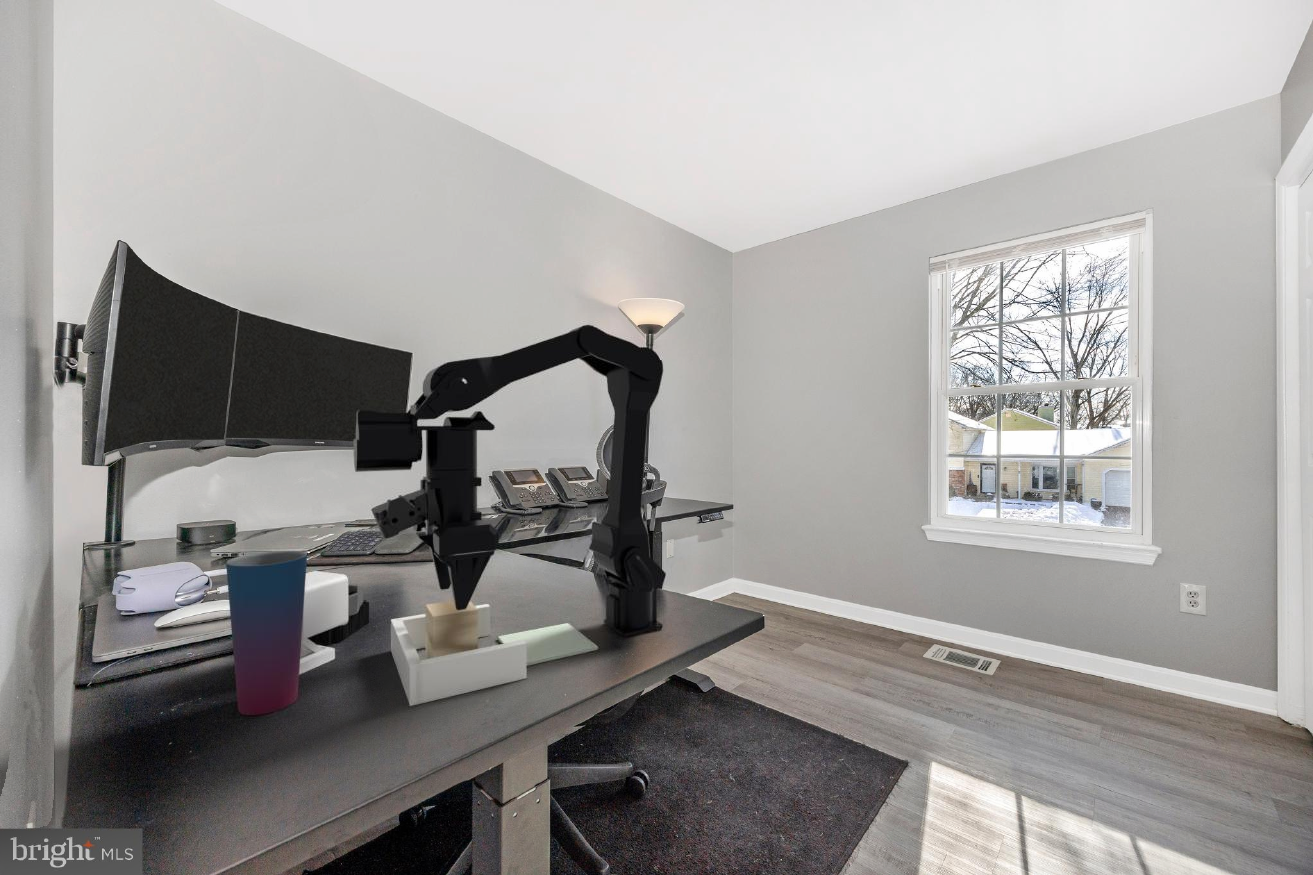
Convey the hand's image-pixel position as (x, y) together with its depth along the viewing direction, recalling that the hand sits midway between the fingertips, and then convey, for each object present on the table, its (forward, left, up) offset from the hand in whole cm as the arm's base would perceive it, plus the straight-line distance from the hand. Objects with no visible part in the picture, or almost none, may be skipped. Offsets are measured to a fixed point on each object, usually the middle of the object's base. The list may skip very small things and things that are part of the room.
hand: (452, 598), depth 66 cm
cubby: (0, 0, -8) cm, 8 cm away
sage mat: (-12, 0, -8) cm, 14 cm away
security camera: (+15, -10, -8) cm, 20 cm away
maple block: (0, 0, -8) cm, 8 cm away
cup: (+18, 0, -8) cm, 20 cm away
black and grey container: (+13, -20, -8) cm, 26 cm away
